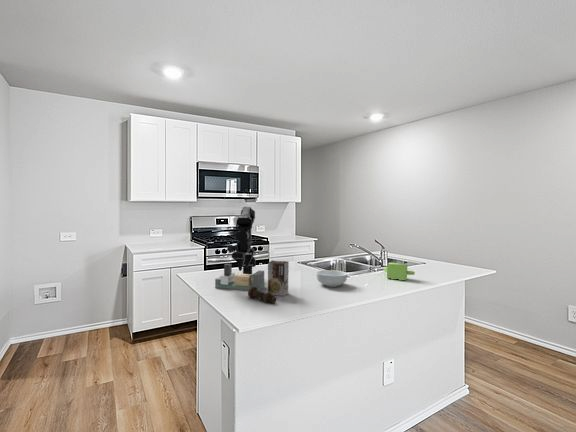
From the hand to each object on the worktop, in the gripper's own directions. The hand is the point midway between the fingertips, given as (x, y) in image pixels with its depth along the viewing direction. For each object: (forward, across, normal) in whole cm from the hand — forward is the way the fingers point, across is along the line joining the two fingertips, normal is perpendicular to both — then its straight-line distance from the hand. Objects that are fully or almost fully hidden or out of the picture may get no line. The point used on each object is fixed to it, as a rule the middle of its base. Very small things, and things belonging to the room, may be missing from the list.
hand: (243, 268), depth 174 cm
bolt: (+10, +19, +17) cm, 28 cm away
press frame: (+10, 0, -2) cm, 10 cm away
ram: (+8, 0, -9) cm, 12 cm away
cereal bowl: (+10, -19, +45) cm, 50 cm away
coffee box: (+10, +6, +21) cm, 24 cm away
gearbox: (+10, -47, +83) cm, 96 cm away
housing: (+8, 0, 0) cm, 8 cm away
